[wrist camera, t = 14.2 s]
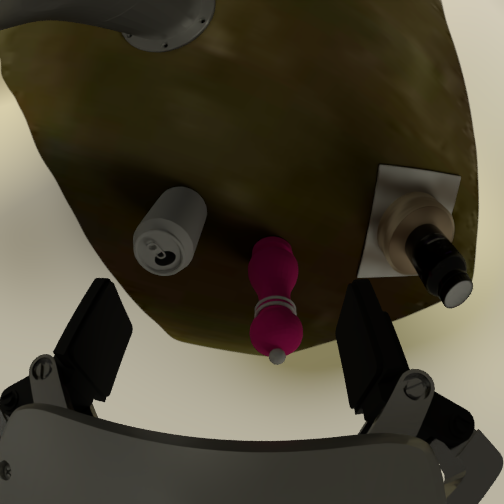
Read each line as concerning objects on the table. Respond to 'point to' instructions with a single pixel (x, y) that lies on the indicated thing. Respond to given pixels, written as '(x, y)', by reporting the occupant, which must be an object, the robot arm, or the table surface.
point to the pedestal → (405, 216)
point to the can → (170, 231)
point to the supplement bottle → (438, 265)
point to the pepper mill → (274, 299)
